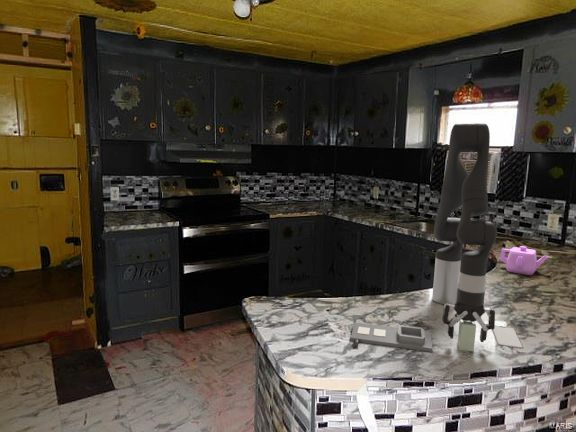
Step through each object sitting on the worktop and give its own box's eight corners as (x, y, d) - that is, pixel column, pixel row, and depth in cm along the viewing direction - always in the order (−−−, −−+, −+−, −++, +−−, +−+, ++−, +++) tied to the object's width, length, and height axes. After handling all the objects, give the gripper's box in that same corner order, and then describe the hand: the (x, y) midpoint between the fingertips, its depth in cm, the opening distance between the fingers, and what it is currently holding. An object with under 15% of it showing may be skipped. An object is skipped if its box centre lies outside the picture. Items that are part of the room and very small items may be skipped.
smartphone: (497, 344, 129) (490, 324, 143) (497, 346, 129) (490, 326, 144) (524, 348, 127) (514, 328, 141) (524, 350, 127) (514, 329, 141)
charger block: (457, 343, 130) (459, 318, 128) (471, 345, 129) (473, 319, 127) (459, 349, 126) (461, 323, 124) (473, 351, 125) (476, 325, 124)
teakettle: (523, 265, 221) (526, 242, 219) (548, 275, 205) (551, 250, 203) (494, 266, 218) (496, 243, 216) (517, 276, 202) (520, 251, 200)
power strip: (354, 325, 141) (354, 317, 141) (429, 334, 135) (430, 326, 135) (349, 346, 126) (349, 337, 125) (433, 358, 120) (434, 348, 120)
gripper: (494, 286, 126) (489, 337, 128) (444, 281, 129) (440, 331, 132) (500, 294, 119) (494, 348, 121) (447, 289, 122) (442, 341, 125)
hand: (466, 339), depth 127 cm, fingers open, 8 cm apart
